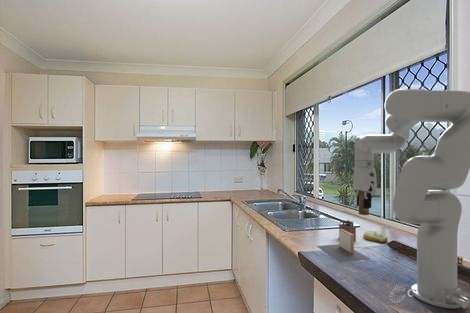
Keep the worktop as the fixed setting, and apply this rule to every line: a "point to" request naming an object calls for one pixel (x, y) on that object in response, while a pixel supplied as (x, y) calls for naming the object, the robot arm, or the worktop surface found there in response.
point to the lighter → (348, 227)
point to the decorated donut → (375, 236)
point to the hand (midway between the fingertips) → (363, 206)
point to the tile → (346, 241)
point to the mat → (342, 253)
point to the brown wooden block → (362, 204)
